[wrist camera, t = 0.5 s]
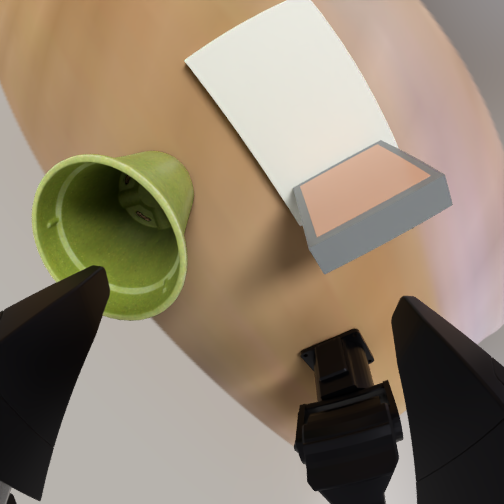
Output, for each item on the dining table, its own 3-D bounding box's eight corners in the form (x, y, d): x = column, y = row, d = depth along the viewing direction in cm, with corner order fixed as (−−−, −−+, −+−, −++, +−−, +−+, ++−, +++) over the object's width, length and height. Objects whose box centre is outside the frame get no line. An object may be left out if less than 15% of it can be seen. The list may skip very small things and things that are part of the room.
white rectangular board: (403, 166, 18) (406, 168, 17) (299, 222, 21) (300, 226, 20) (303, -5, 12) (304, -8, 12) (186, 61, 15) (184, 60, 15)
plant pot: (89, 212, 21) (27, 271, 14) (125, 107, 17) (45, 126, 9) (184, 263, 23) (152, 343, 16) (240, 165, 19) (223, 217, 11)
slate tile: (389, 160, 17) (452, 204, 10) (304, 206, 20) (324, 274, 13) (380, 139, 17) (444, 174, 10) (292, 187, 19) (308, 248, 12)
